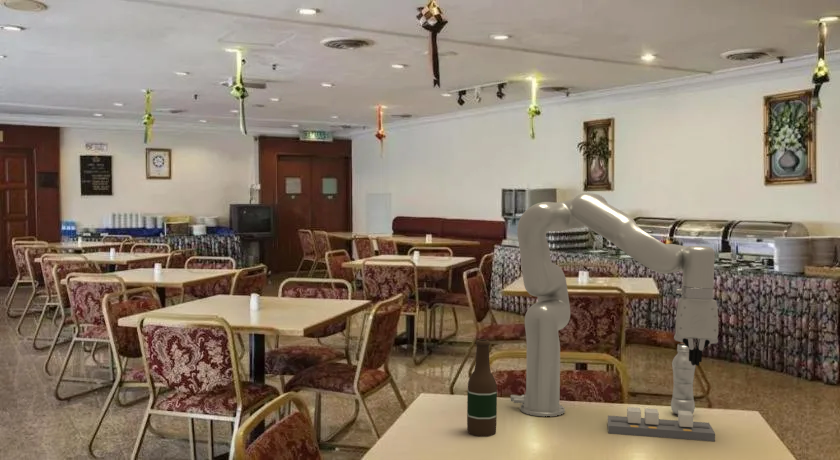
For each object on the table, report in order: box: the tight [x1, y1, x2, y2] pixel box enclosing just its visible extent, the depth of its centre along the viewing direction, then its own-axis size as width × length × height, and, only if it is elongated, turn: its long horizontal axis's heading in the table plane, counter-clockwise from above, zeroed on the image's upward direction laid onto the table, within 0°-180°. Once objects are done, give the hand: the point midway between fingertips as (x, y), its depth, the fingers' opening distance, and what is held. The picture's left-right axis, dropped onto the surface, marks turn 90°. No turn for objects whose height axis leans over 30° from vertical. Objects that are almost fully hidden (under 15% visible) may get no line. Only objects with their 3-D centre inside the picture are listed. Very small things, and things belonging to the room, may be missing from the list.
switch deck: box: [607, 415, 716, 442], centre depth 194 cm, size 26×10×2 cm, turn 77°
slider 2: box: [643, 407, 660, 425], centre depth 194 cm, size 3×4×3 cm
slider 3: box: [677, 410, 694, 427], centre depth 193 cm, size 3×4×3 cm
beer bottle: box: [466, 338, 498, 437], centre depth 191 cm, size 8×8×24 cm
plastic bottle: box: [670, 343, 697, 415], centre depth 211 cm, size 6×7×20 cm
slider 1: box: [626, 406, 642, 424], centre depth 195 cm, size 3×4×3 cm
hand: (694, 364), depth 192 cm, fingers closed
